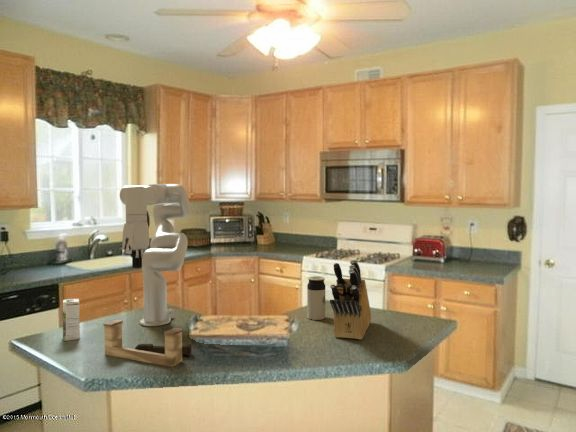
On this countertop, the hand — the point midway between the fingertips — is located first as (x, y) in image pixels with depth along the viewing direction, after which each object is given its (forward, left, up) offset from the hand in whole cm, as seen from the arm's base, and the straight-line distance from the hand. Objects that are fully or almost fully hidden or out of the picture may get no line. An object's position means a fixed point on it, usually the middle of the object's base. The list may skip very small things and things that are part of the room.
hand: (137, 267), depth 169 cm
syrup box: (+9, -24, -27) cm, 37 cm away
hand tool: (+12, +20, -28) cm, 36 cm away
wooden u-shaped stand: (+15, +15, -27) cm, 35 cm away
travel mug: (-53, +53, -27) cm, 80 cm away
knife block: (-38, +73, -27) cm, 87 cm away
